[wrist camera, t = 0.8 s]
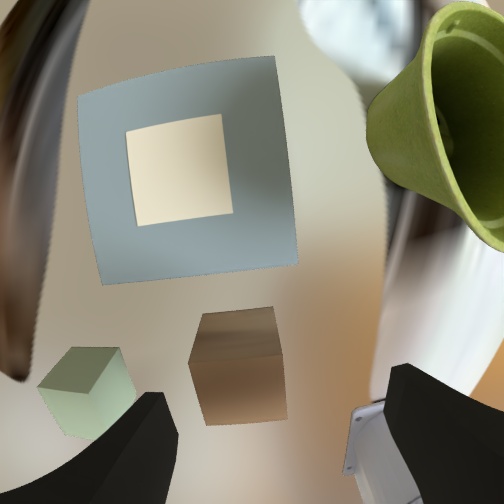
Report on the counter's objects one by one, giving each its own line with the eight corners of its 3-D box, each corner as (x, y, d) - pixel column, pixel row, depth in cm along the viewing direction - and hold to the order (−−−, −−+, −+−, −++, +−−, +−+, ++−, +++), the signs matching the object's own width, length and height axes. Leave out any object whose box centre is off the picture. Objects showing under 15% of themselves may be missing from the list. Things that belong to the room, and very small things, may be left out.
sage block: (136, 394, 18) (115, 443, 14) (91, 391, 18) (64, 434, 14) (119, 347, 17) (88, 393, 13) (72, 346, 17) (36, 387, 13)
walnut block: (278, 363, 18) (287, 419, 13) (214, 369, 18) (206, 425, 13) (273, 306, 17) (282, 354, 12) (202, 313, 17) (188, 362, 12)
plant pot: (485, 157, 15) (584, 161, 6) (402, 250, 16) (503, 307, 8) (404, 39, 13) (488, -20, 5) (299, 122, 14) (359, 63, 6)
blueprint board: (296, 261, 16) (298, 264, 15) (106, 281, 16) (101, 285, 16) (273, 59, 13) (274, 55, 13) (82, 98, 14) (76, 96, 13)
